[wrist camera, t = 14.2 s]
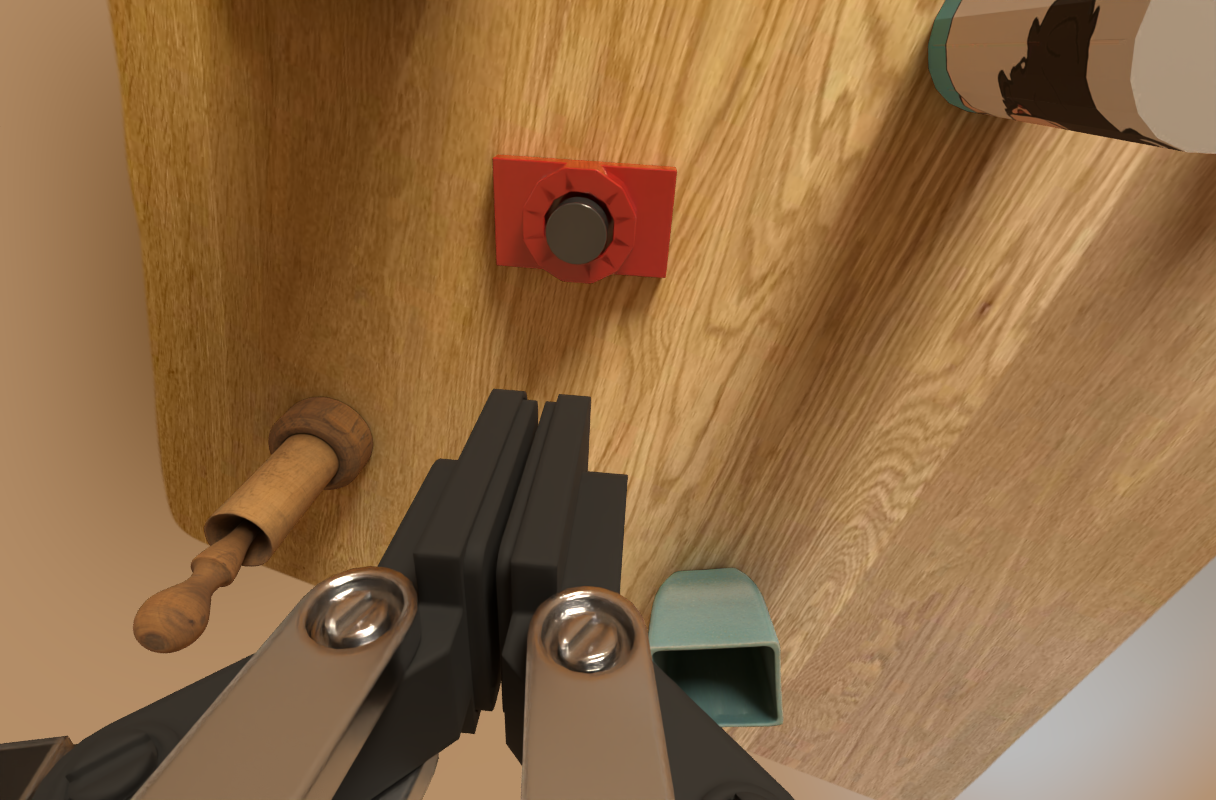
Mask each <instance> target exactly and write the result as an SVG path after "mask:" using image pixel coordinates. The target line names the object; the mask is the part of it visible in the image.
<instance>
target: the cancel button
mask: <svg viewBox="0 0 1216 800" xmlns="http://www.w3.org/2000/svg"><path fill="white" fill-rule="evenodd" d="M608 232H609V223H608V218H607V216H606V213H605V212H604V210H603V209H602V207H601V206H600V205H599V204H598V203H596V202H595V201H593V200H592V199H589V198H586V197H581V196H575V197H570V198H567V199H565V200H564V201H562V202H561V203H559V204H558V205H557V207H556V208H555V209H554V211H553V212H552V214H551V216H550V217H549V219H548V221H547V224H546V231H545V234H546V241H547V244H548V246H549V248H550V250H551V251H552V252H553V254H554V255H555V256H556V257H558V258H559V259H560V260H562V261H564V262H566V263H569V264H574V265H580V264H586V263H589V262H591V261H593V260H594V259H596V258H597V257H598V256H599V255H600V254H601V252H602V251H603V249H604V247H605V244H606V240H607V236H608Z"/></svg>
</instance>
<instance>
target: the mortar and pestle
mask: <svg viewBox="0 0 1216 800" xmlns="http://www.w3.org/2000/svg"><path fill="white" fill-rule="evenodd" d="M269 449H270V452H271V456H270V457H269V458H268V459H267V460H266V461H265V462H264V463H263V464H262V465H261V466H260V467H259V468H258V469H257V470H256V471H255V472H254V473H253V474H252V475H251V476H250V477H249V478H248V479H247V480H246V481H245V482H244V483H243V484H242V485H241V486H240V487H239V488H238V490H237V491H236V492H235V493H234V494H233V495H232V496H231V497H230V498H229V499H228V500H227V501H226V502H225V503H224V504H223V505H221V506H220V507H219V508H218V509H217V510H216V511H215V512H214V513H213V514H212V515H211V516H210V518H209V519H208V520H207V521H206V523H205V526H204V532H205V536H206V539H207V541H208V543H209V544H210V547H209V548H207V549H205V550H204V551H203V552H201V553H200V554H199V555H198V556H196V557H195V558H194V559H193V560H192V563H191V569H192V572H193V574H192V575H191V577H190V578H188V579H187V580H186V581H184V582H182V583H180V584H177V585H175V586H172V587H170V588H167V589H165V590H162V591H160V592H158V593H156V594H155V595H153V596H151V597H150V598H149V599H147V600H146V601H145V603H144V604H143V605H142V606H141V607H140V609H139V610H138V612H137V614H136V616H135V619H134V624H133V631H134V635H135V638H136V640H137V641H138V642H139V643H140V644H141V645H142V646H143V647H145V648H146V649H148V650H150V651H153V652H157V653H172V652H176V651H179V650H181V649H183V648H186V647H187V646H189V645H190V644H192V643H193V642H195V641H196V640H197V639H198V638H199V637H200V636H201V634H202V633H203V632H204V630H205V628H206V627H207V624H208V620H209V615H210V605H211V596H212V594H213V593H214V592H215V591H216V590H217V589H218V588H219V587H225V586H228V585H230V584H231V583H232V582H233V581H234V579H235V577H236V576H237V574H238V572H239V570H240V567H241V565H242V566H259V565H262V564H264V563H265V562H267V561H268V560H269V559H270V558H271V556H272V555H273V554H274V552H275V551H276V550H277V548H278V547H279V546H280V544H281V543H282V542H283V540H284V539H285V538H286V536H287V535H288V534H289V532H290V531H291V530H292V529H293V527H294V526H295V525H296V523H297V522H298V521H299V519H300V518H301V517H302V516H303V514H304V513H305V512H306V511H307V509H308V508H309V507H310V505H311V504H312V503H313V502H314V500H315V499H316V498H317V497H318V495H319V494H320V493H321V492H322V490H332V489H338V488H341V487H344V486H346V485H347V484H349V483H350V482H352V481H353V480H354V479H355V478H356V476H357V475H358V474H359V472H360V471H361V470H362V468H363V467H364V466H365V464H366V463H367V462H368V460H369V458H370V456H371V453H372V449H373V439H372V435H371V432H370V429H369V427H368V425H367V424H366V422H365V421H364V420H363V418H362V417H361V416H360V415H359V414H358V413H357V412H356V411H355V410H353V409H352V408H350V407H349V406H347V405H346V404H344V403H342V402H340V401H337V400H334V399H331V398H326V397H312V398H307V399H304V400H302V401H299V402H298V403H296V404H295V405H293V406H292V407H291V408H290V409H289V410H288V411H287V412H286V413H285V414H284V415H283V416H282V417H280V418H279V419H278V420H277V421H276V423H275V424H274V425H273V427H272V429H271V431H270V434H269Z"/></svg>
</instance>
